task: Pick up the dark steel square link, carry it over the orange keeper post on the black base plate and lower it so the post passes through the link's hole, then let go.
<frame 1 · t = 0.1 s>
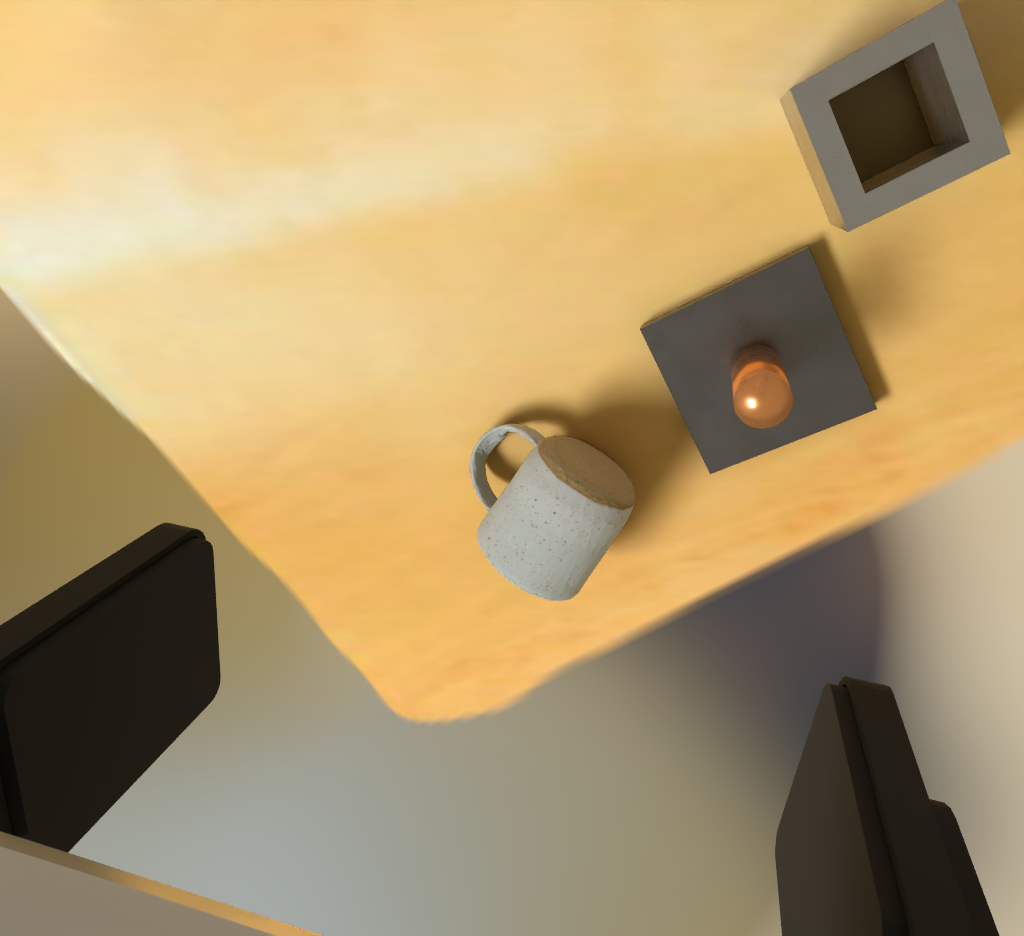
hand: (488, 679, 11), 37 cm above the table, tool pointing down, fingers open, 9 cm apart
keeper post: (755, 364, 45), on the table
ceramic mug: (550, 483, 51), on the table
steel link: (873, 127, 39), on the table
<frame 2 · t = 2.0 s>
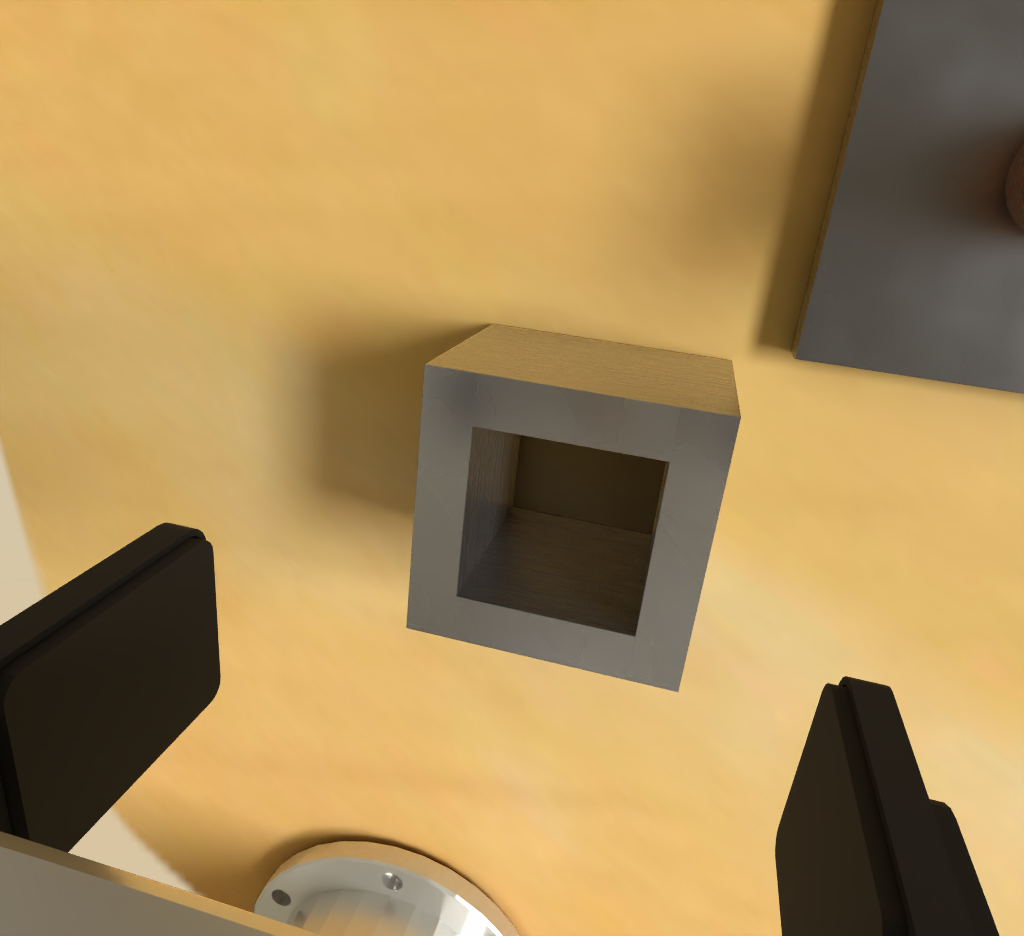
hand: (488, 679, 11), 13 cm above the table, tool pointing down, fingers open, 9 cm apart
steel link: (591, 454, 23), on the table
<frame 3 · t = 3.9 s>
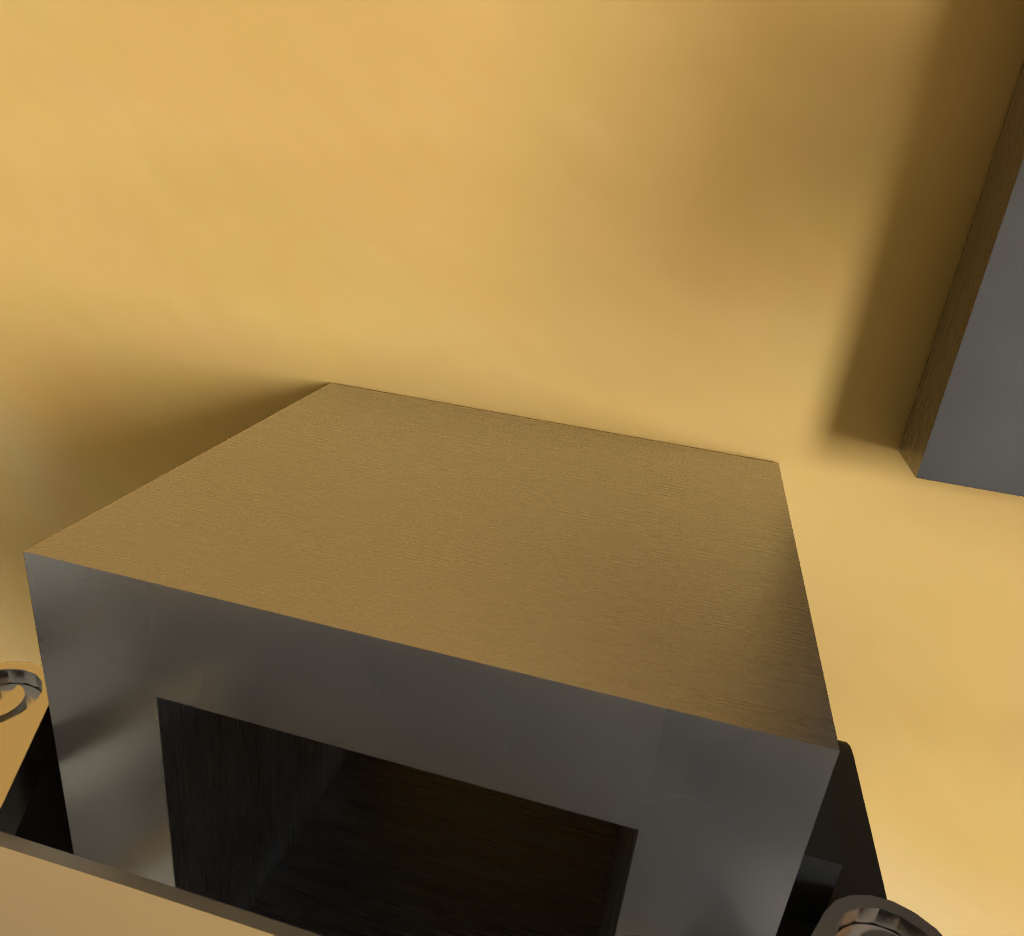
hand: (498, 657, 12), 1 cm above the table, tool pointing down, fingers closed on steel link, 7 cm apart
steel link: (517, 614, 13), on the table, touching gripper
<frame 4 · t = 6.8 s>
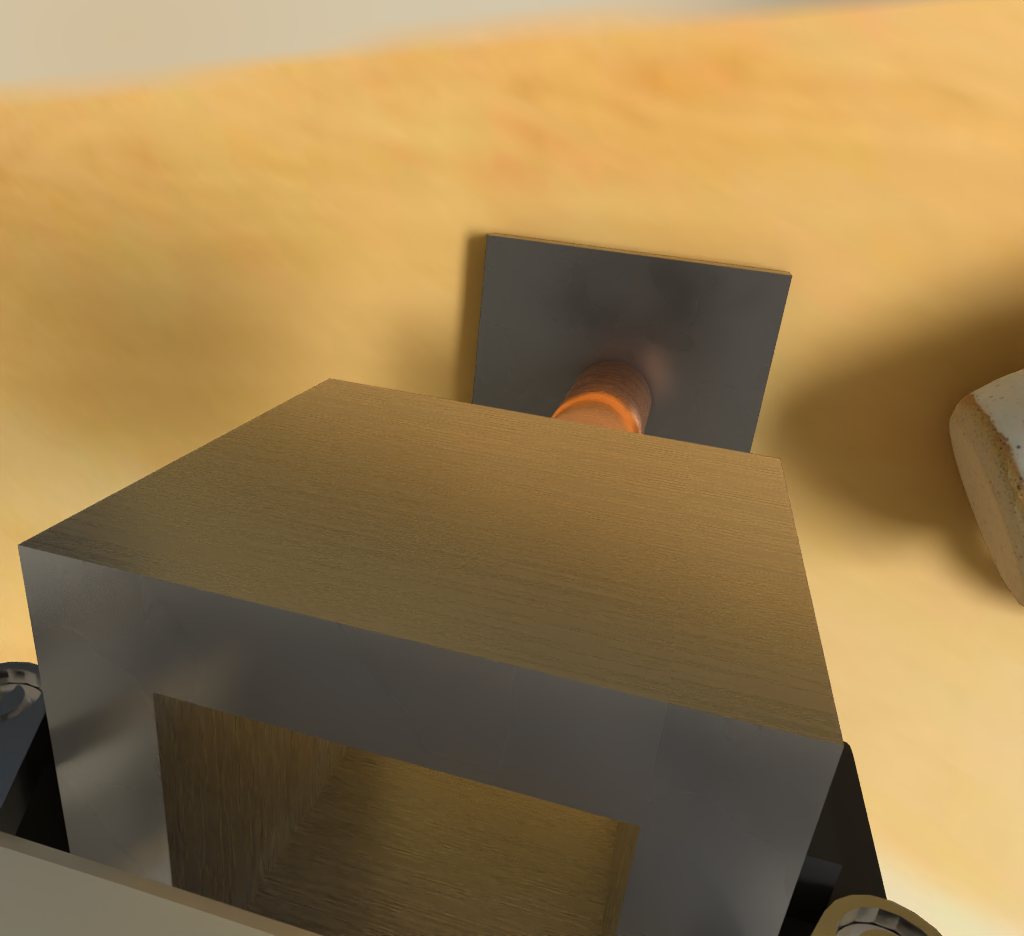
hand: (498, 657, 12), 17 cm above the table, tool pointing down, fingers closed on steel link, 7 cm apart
keeper post: (613, 393, 28), on the table
steel link: (517, 611, 13), point 16 cm above the table, touching gripper
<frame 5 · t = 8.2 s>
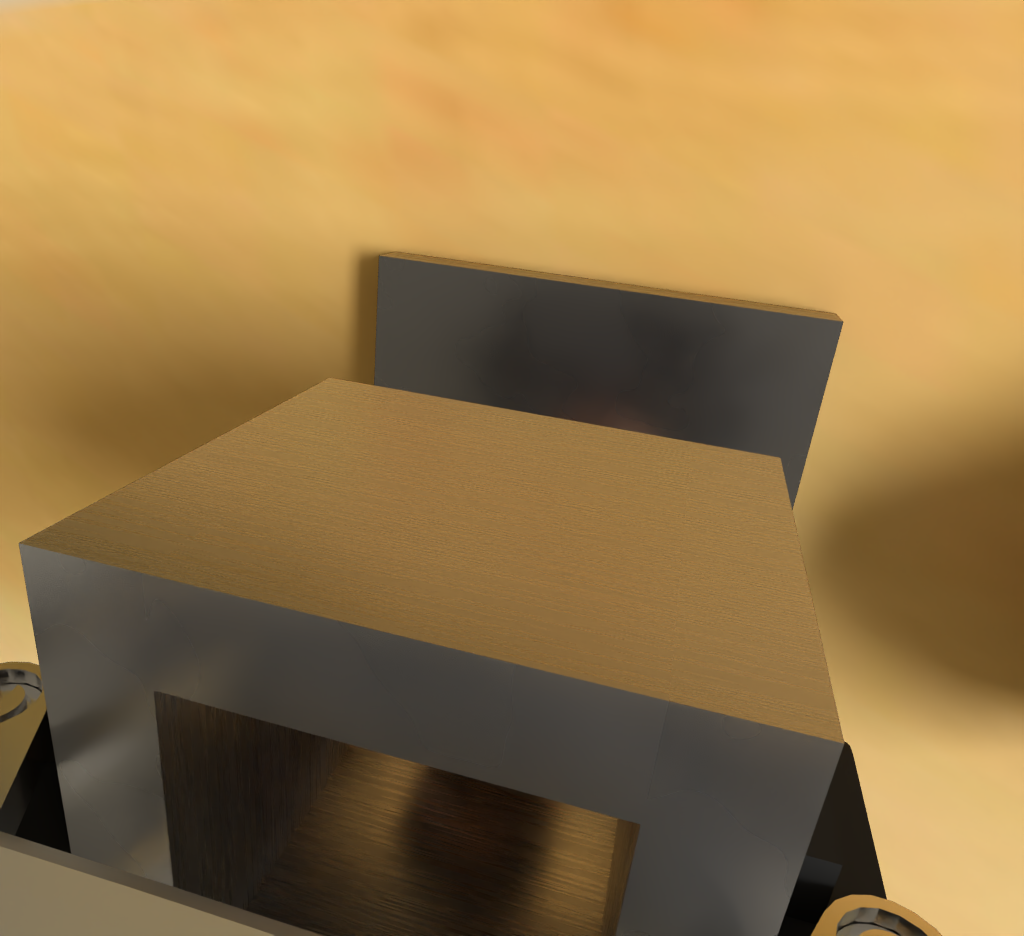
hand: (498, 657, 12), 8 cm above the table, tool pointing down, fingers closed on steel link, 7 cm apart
keeper post: (574, 483, 19), on the table
steel link: (518, 610, 13), point 7 cm above the table, touching gripper
when the fingers open (5 cm above the table, at t = 9.6 s): steel link drops 3 cm, resting on keeper post.
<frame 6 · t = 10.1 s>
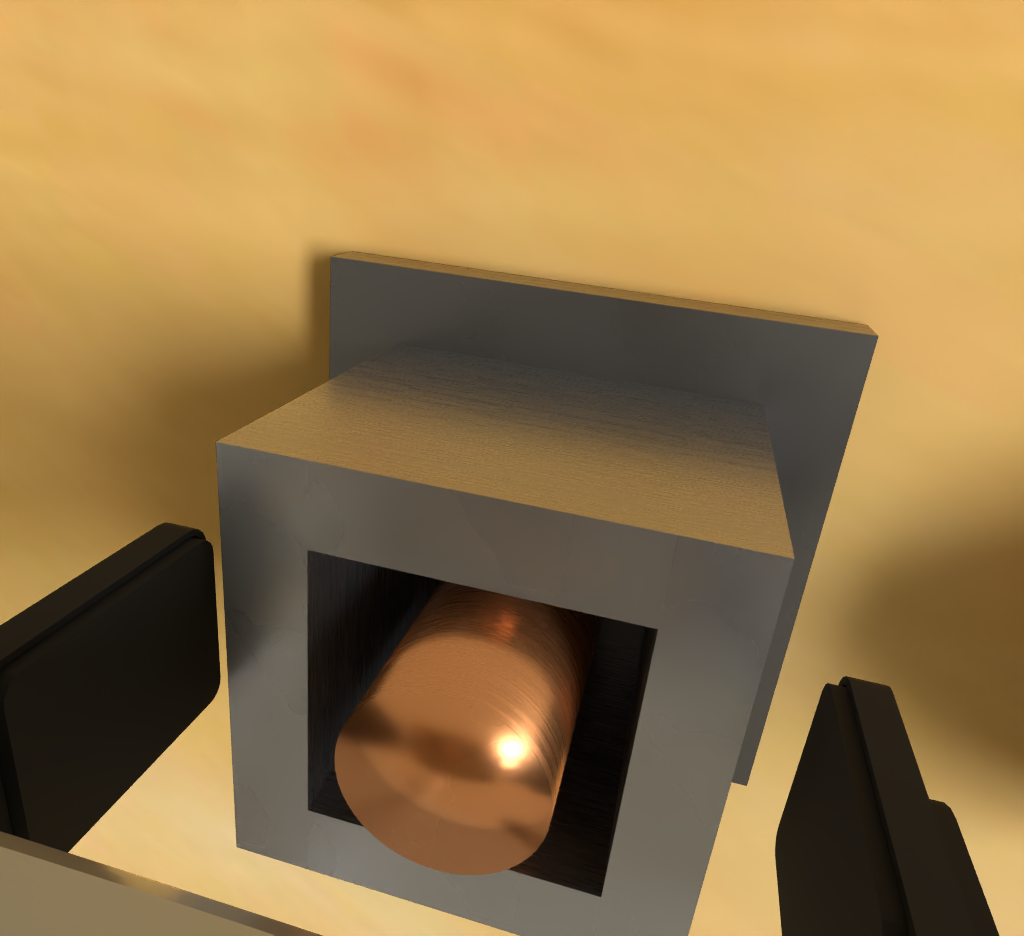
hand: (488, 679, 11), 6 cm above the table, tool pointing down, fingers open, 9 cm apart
keeper post: (560, 517, 17), on the table
steel link: (549, 536, 16), point 1 cm above the table, touching keeper post
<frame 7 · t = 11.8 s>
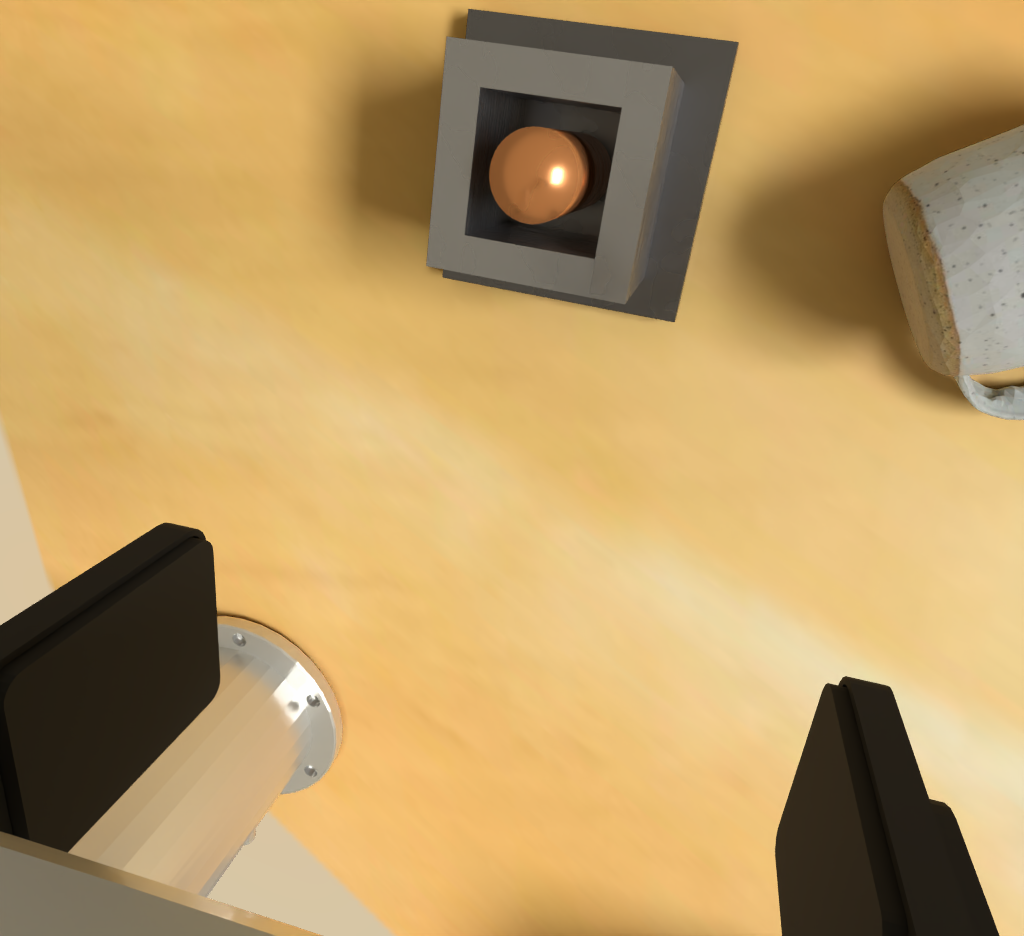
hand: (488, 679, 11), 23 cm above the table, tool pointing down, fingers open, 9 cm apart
keeper post: (580, 171, 30), on the table
ceramic mug: (1021, 264, 28), on the table
steel link: (574, 171, 30), point 1 cm above the table, touching keeper post
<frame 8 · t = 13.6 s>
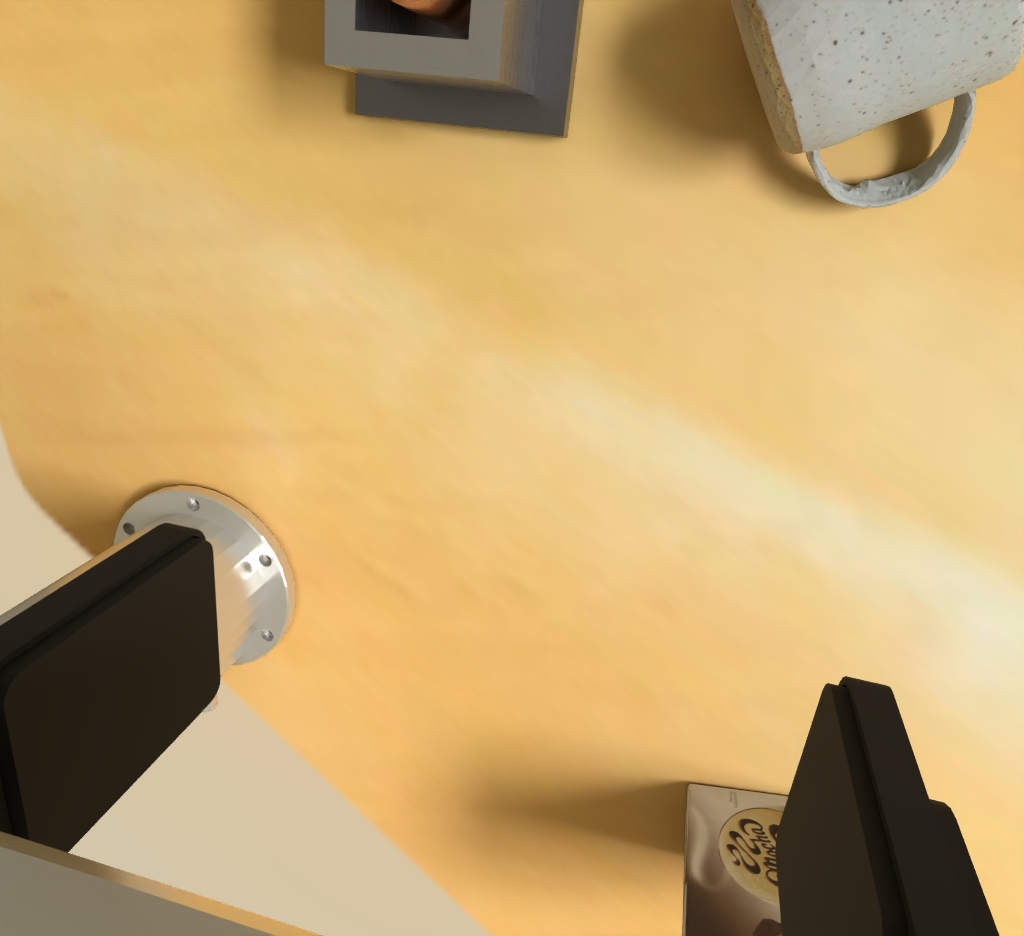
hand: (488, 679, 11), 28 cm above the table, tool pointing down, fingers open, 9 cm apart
keeper post: (471, 3, 34), on the table
ceramic mug: (866, 66, 31), on the table
coffee box: (762, 829, 46), on the table
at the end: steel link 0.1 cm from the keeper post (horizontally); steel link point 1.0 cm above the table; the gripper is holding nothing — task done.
